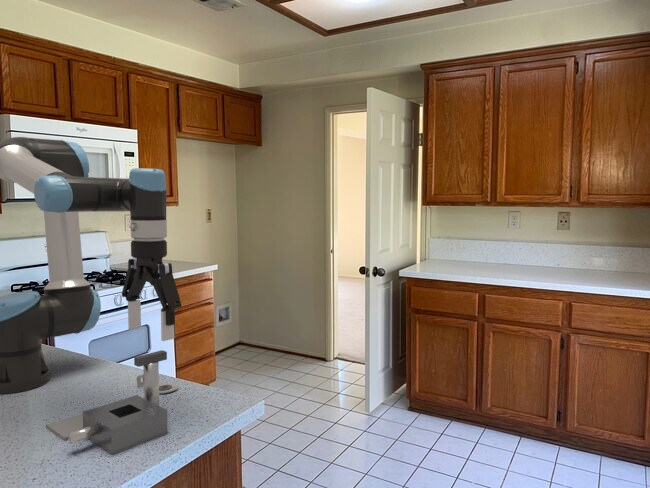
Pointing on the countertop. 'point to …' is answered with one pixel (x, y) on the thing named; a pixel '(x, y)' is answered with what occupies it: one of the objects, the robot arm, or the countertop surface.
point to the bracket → (162, 387)
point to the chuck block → (122, 424)
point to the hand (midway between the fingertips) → (150, 334)
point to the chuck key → (151, 373)
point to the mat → (66, 426)
